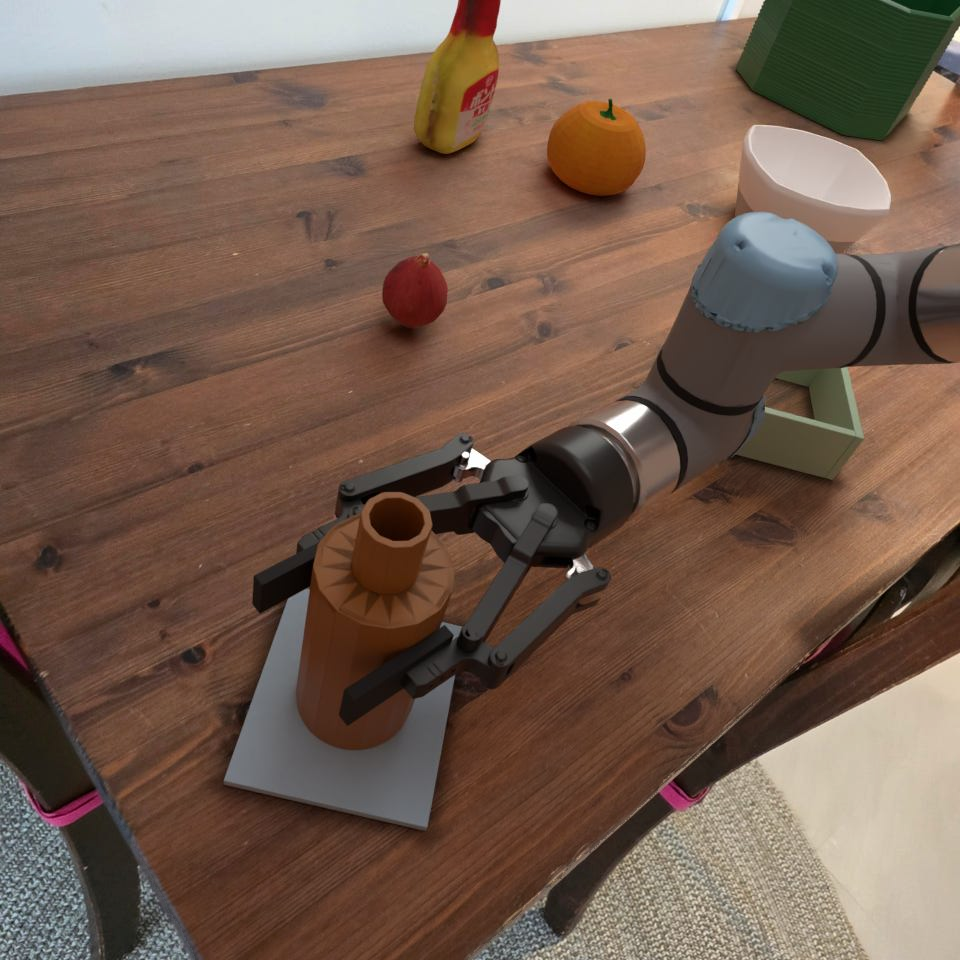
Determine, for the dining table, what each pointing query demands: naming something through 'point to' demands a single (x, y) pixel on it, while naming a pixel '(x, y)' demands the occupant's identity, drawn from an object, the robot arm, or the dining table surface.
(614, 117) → the fruit
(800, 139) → the bowl
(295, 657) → the mat
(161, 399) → the dining table surface
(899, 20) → the planter
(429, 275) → the onion
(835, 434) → the bin
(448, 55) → the bottle
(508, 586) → the robot arm
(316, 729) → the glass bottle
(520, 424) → the dining table surface
